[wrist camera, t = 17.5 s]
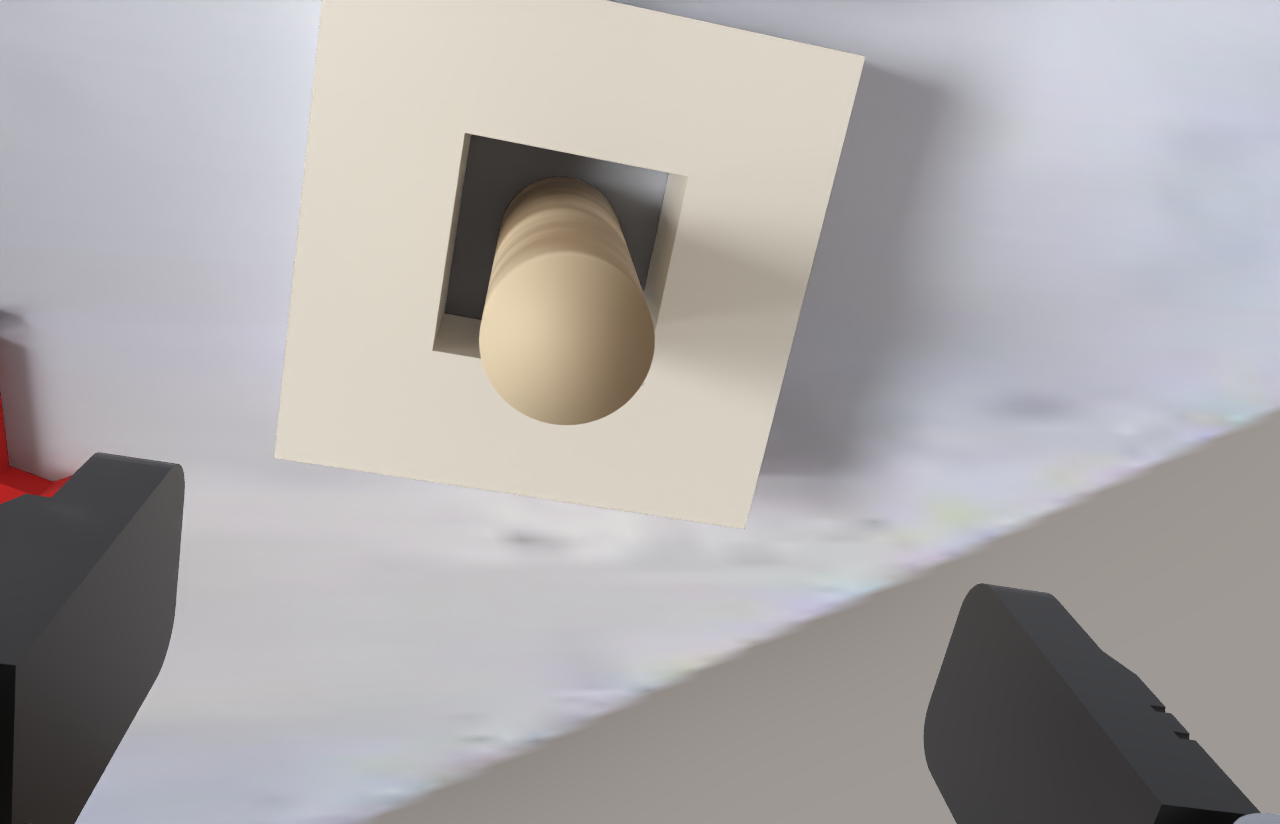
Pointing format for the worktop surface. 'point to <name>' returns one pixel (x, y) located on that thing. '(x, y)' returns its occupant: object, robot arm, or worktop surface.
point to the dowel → (564, 307)
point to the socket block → (582, 125)
